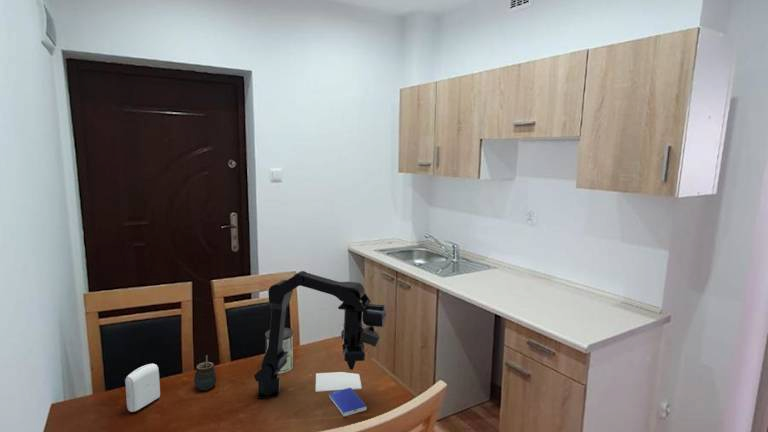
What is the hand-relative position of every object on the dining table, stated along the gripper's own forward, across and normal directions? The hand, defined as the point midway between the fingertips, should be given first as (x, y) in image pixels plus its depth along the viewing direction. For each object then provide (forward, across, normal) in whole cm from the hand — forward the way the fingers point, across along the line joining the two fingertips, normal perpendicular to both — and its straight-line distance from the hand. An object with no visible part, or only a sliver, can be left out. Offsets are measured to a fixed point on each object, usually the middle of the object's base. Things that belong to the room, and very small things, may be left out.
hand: (351, 369), depth 135 cm
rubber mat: (+13, +15, +3) cm, 20 cm away
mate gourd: (+14, +18, +49) cm, 54 cm away
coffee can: (+14, +29, +25) cm, 41 cm away
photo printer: (+14, +9, +66) cm, 68 cm away
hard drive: (+12, +7, +3) cm, 14 cm away
